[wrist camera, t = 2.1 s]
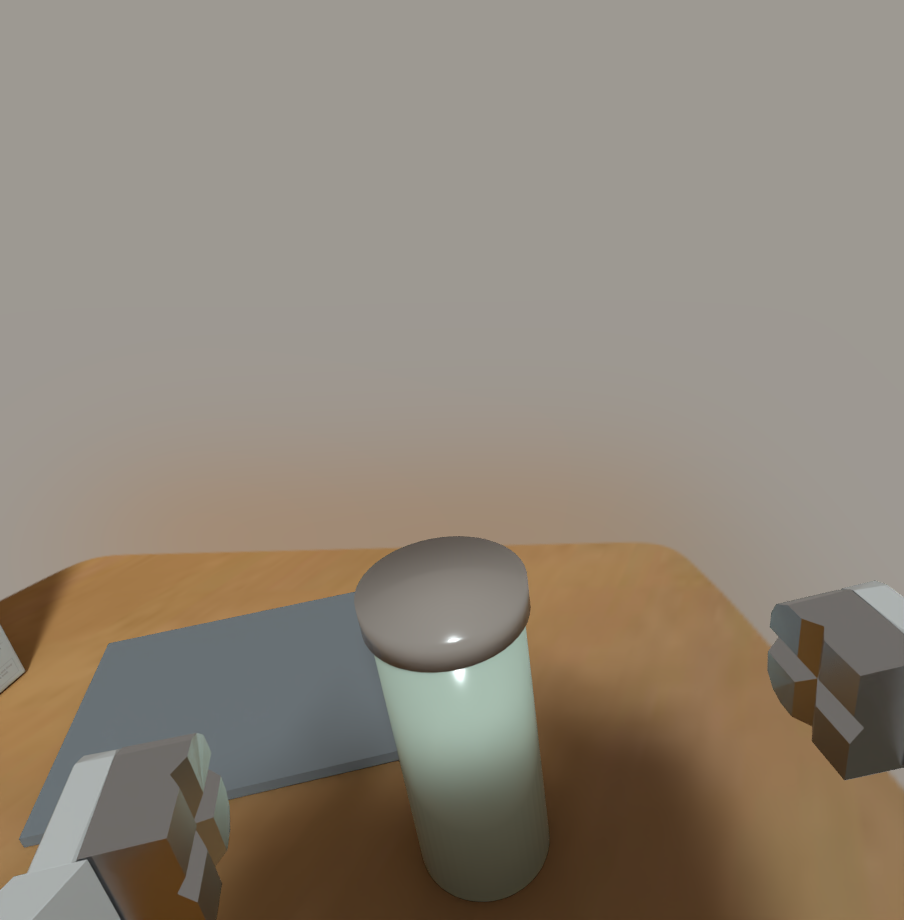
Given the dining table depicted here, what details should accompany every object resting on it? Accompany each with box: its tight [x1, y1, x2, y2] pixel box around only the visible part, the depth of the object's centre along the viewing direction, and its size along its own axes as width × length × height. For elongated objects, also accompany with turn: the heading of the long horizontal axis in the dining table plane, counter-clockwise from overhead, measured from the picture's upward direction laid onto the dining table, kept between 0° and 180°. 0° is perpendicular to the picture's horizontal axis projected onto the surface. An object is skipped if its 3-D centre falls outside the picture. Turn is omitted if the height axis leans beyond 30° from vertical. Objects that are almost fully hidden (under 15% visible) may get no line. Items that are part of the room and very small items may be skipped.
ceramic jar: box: [354, 536, 550, 902], centre depth 26 cm, size 6×6×13 cm
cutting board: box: [19, 592, 399, 847], centre depth 39 cm, size 20×14×1 cm
